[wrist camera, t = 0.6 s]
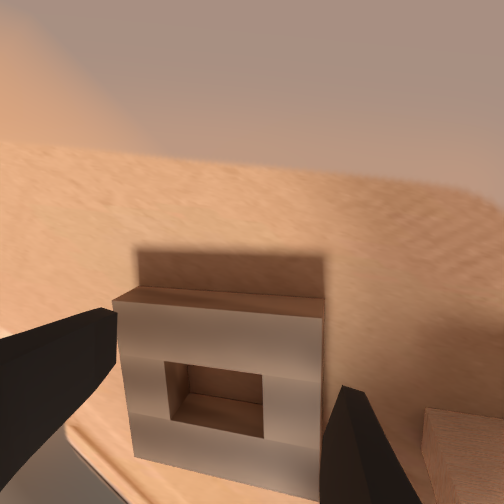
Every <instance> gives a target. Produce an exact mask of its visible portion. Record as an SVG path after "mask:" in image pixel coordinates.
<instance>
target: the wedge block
mask: <svg viewBox="0 0 504 504" xmlns="http://www.w3.org/2000/svg"><path fill="white" fill-rule="evenodd" d="M421 451H422V454H423V458H424V461H425V464H426V468H427V471H428V474H429V478H430V481H431V484H432V488H433V491H434V495H435V498H436V501H437V504H504V419H501V418H494V417H487V416H480V415H474V414H467V413H460V412H453V411H447V410H440V409H433V408H427V407H425V415H424V425H423V434H422V443H421Z"/></svg>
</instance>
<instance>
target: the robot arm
mask: <svg viewBox="0 0 504 504" xmlns="http://www.w3.org/2000/svg"><path fill="white" fill-rule="evenodd" d="M117 317H118V313H117V312H114V311H111V310H108V309H105V308H102V307H101V308H97V309H93V310H90V311H86V312H83V313H80V314H77V315H74V316H71V317H68V318H65V319H61V320H58V321H55V322H52V323H49V324H46V325H43V326H40V327H37V328H34V329H31V330H28V331H25V332H22V333H18V334H15V335H12V336H8V337H5V338H2V339H0V492H1V490H2V489H3V488H4V487H5V486H6V484H7V483H8V482H9V481H10V480H11V478H12V477H13V476H14V475H15V474H16V472H17V471H18V470H19V469H20V468H21V467H22V466H23V465H24V464H25V463H26V462H27V460H28V459H29V458H30V457H31V456H32V455H33V454H34V453H35V452H36V451H37V450H38V449H39V448H40V447H41V446H42V445H43V444H44V443H45V442H46V441H47V440H48V439H49V438H50V437H51V436H52V434H54V433H55V432H56V431H57V430H58V429H59V427H61V426H62V425H63V423H64V422H65V421H66V420H67V419H68V418H69V417H70V416H71V415H72V414H73V413H74V412H75V411H76V410H77V409H78V408H79V407H80V406H81V405H82V404H83V403H84V402H85V401H86V400H87V399H88V398H89V397H90V396H91V394H92V393H93V392H94V391H95V390H96V389H97V388H98V386H99V385H100V384H101V383H102V381H103V380H104V379H105V377H106V376H107V375H108V373H109V372H110V371H111V369H112V368H113V367H114V365H115V364H116V350H117ZM319 498H320V504H422V503H421V501H420V499H419V497H418V496H417V494H416V492H415V490H414V489H413V487H412V485H411V483H410V481H409V480H408V478H407V476H406V474H405V472H404V470H403V468H402V467H401V465H400V463H399V461H398V459H397V457H396V455H395V453H394V451H393V450H392V448H391V446H390V444H389V442H388V440H387V438H386V436H385V434H384V432H383V430H382V428H381V426H380V424H379V421H378V419H377V417H376V415H375V413H374V411H373V409H372V407H371V405H370V403H369V401H368V398H367V396H366V395H365V393H364V392H362V391H359V390H356V389H352V388H349V387H346V386H343V385H342V387H341V390H340V392H339V395H338V398H337V400H336V403H335V406H334V408H333V411H332V414H331V416H330V419H329V422H328V424H327V427H326V430H325V432H324V435H323V441H322V451H321V462H320V474H319Z"/></svg>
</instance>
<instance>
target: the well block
mask: <svg viewBox="0 0 504 504" xmlns="http://www.w3.org/2000/svg"><path fill="white" fill-rule="evenodd" d="M112 305H113V311H114V312H117V313H118V317H117V340H118V347H119V354H120V361H121V368H122V375H123V382H124V388H125V395H126V402H127V409H128V416H129V423H130V430H131V437H132V444H133V451H134V457H137V458H141V459H145V460H149V461H153V462H157V463H161V464H165V465H169V466H173V467H177V468H182V469H186V470H190V471H194V472H198V473H202V474H206V475H210V476H214V477H218V478H222V479H227V480H231V481H235V482H239V483H243V484H247V485H251V486H255V487H259V488H263V489H267V490H272V491H276V492H280V493H284V494H288V495H292V496H296V497H300V498H304V499H308V500H312V501H317V502H319V474H320V462H321V451H322V406H323V356H324V307H325V299H322V298H307V297H292V296H278V295H263V294H248V293H234V292H219V291H204V290H190V289H175V288H160V287H145V286H138V287H136V288H134V289H133V290H131V291H129V292H127V293H125V294H123V295H121V296H119V297H118V298H116V299H114V300H112ZM187 364H190V365H197V366H204V367H211V368H218V369H226V370H233V371H240V372H247V373H254V374H261V375H262V385H263V405H261V404H255V403H249V402H243V401H237V400H231V399H225V398H219V397H213V396H207V395H201V394H195V393H190V390H189V379H188V368H187Z"/></svg>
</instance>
